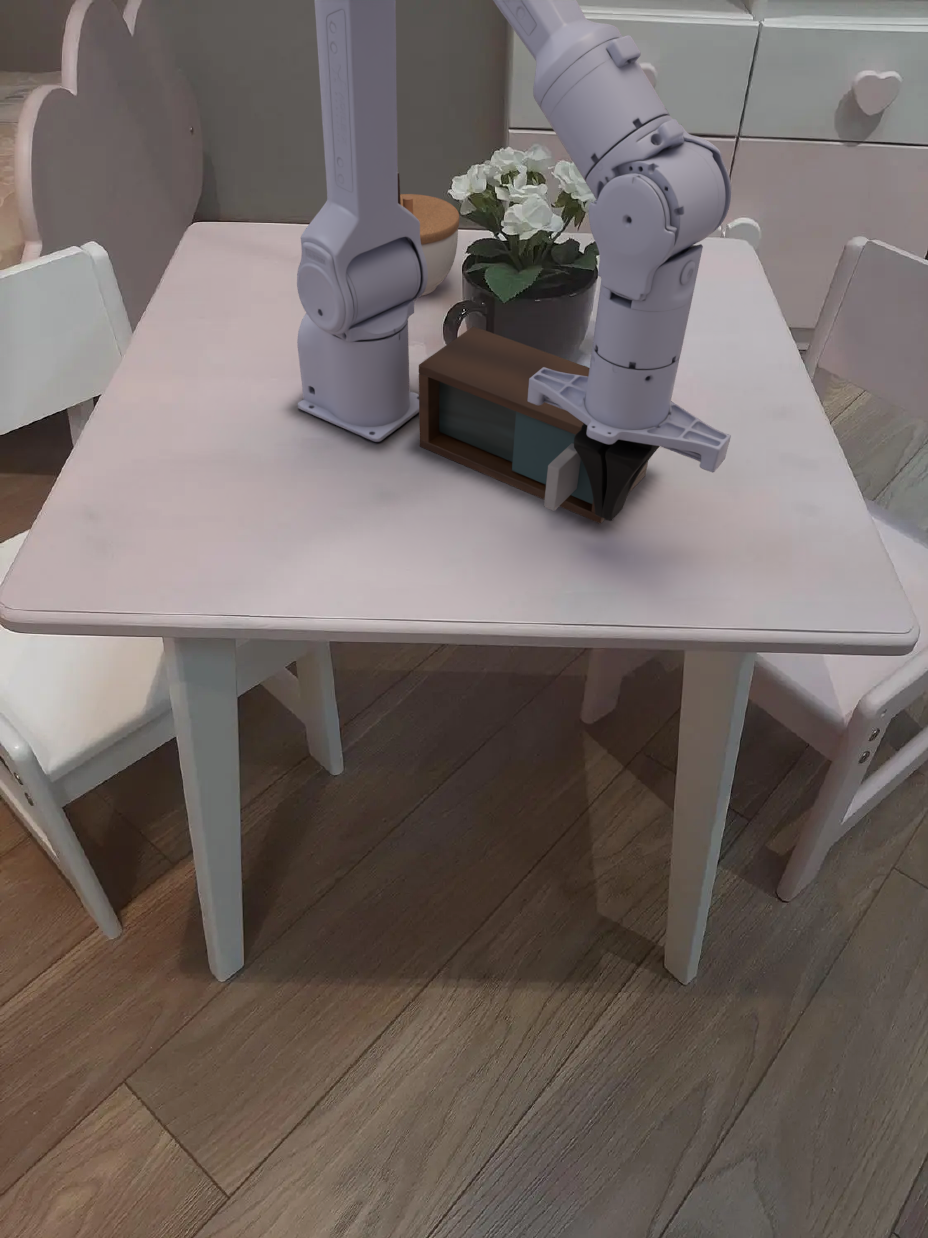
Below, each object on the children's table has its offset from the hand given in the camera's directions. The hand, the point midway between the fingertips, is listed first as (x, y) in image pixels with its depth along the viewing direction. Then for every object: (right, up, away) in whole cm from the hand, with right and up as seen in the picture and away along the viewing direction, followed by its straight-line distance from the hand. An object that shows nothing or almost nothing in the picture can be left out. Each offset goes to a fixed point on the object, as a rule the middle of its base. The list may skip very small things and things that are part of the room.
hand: (608, 511), depth 70 cm
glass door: (-5, +2, +5) cm, 7 cm away
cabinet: (-5, +6, +10) cm, 13 cm away
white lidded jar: (-17, +29, +33) cm, 47 cm away
